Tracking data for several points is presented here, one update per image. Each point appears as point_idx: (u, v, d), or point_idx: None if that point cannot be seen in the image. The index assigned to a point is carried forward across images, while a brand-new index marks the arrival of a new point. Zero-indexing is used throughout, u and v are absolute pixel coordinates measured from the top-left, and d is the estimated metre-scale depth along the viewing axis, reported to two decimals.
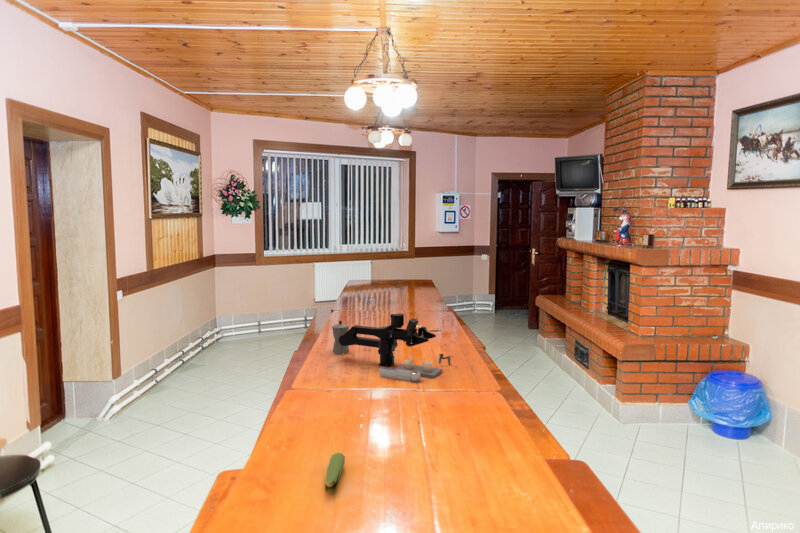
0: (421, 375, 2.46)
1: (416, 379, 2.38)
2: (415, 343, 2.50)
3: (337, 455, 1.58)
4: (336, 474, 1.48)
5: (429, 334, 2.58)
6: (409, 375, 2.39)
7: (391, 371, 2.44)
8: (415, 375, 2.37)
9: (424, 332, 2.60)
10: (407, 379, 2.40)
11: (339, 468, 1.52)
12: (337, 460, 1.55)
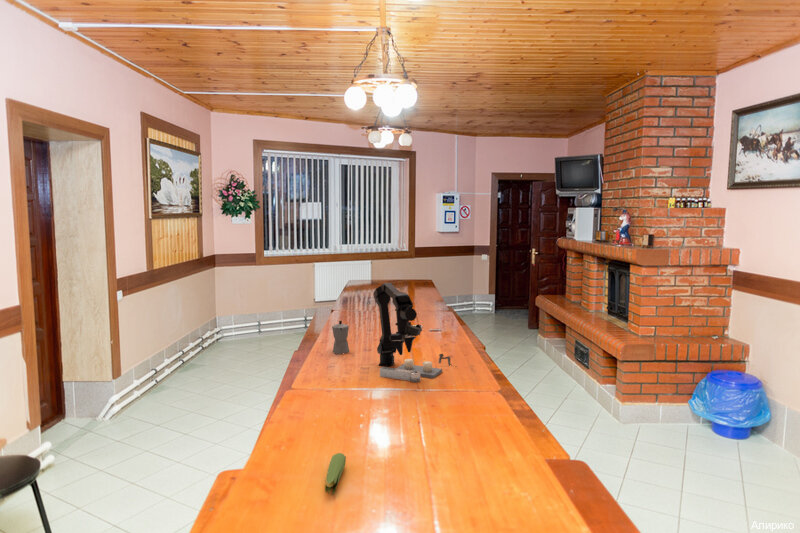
0: (421, 375, 2.46)
1: (416, 379, 2.38)
2: (394, 342, 2.38)
3: (338, 455, 1.57)
4: (336, 474, 1.48)
5: (409, 345, 2.47)
6: (409, 375, 2.39)
7: (391, 371, 2.44)
8: (415, 375, 2.37)
9: (410, 338, 2.47)
10: (407, 379, 2.40)
11: (339, 468, 1.52)
12: (338, 460, 1.55)
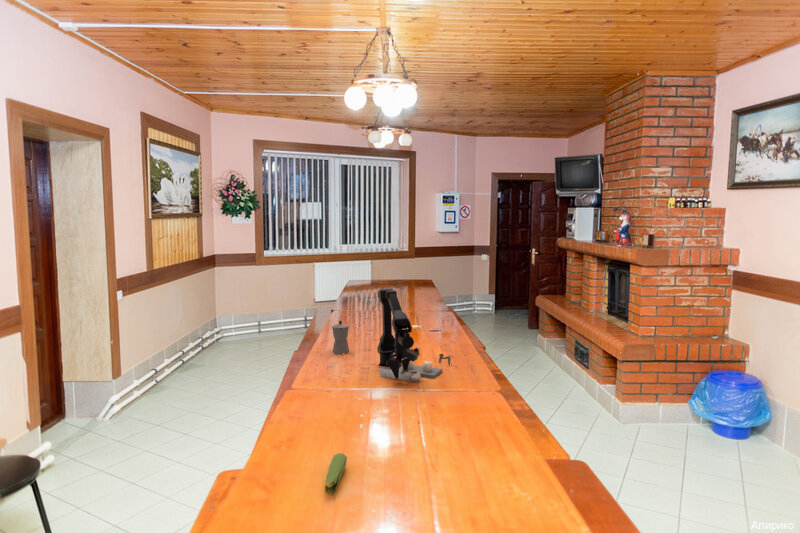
0: (421, 375, 2.46)
1: (416, 379, 2.38)
2: None
3: (339, 455, 1.57)
4: (336, 475, 1.48)
5: (406, 366, 2.47)
6: (409, 375, 2.39)
7: (391, 371, 2.44)
8: (415, 375, 2.37)
9: (407, 360, 2.47)
10: (407, 379, 2.40)
11: (340, 469, 1.51)
12: (338, 460, 1.55)
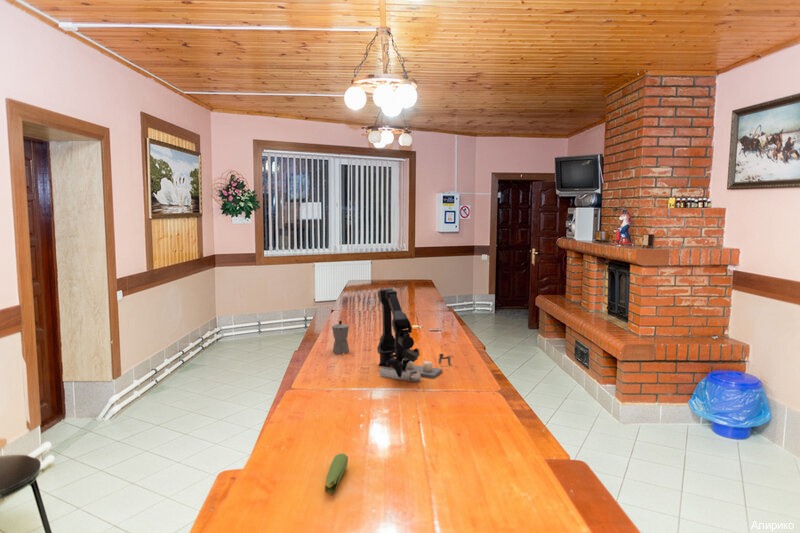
0: (421, 375, 2.46)
1: (416, 379, 2.38)
2: None
3: (340, 456, 1.57)
4: (336, 475, 1.48)
5: (403, 368, 2.44)
6: (409, 375, 2.39)
7: (391, 371, 2.44)
8: (415, 375, 2.37)
9: (405, 362, 2.44)
10: (407, 379, 2.40)
11: (340, 469, 1.51)
12: (339, 461, 1.54)
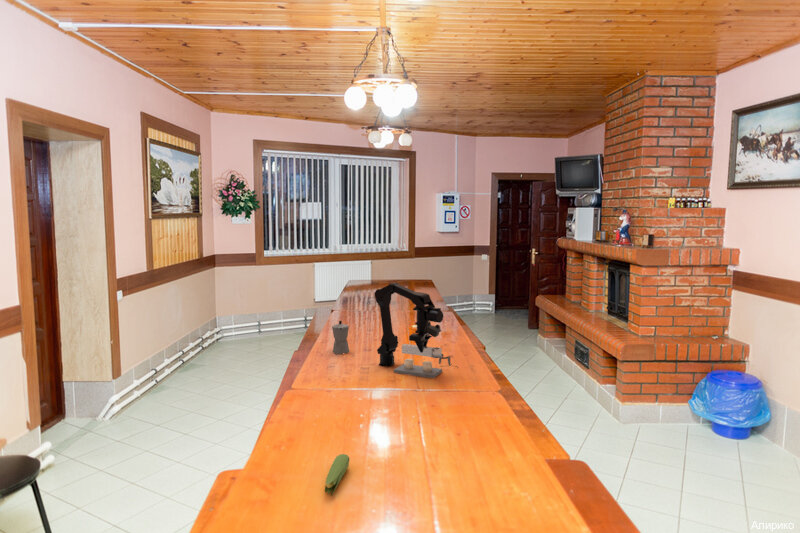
0: (421, 375, 2.46)
1: (438, 355, 2.45)
2: (416, 340, 2.47)
3: (341, 456, 1.57)
4: (336, 475, 1.47)
5: (424, 344, 2.51)
6: (431, 351, 2.46)
7: (412, 348, 2.51)
8: (437, 351, 2.44)
9: (426, 338, 2.51)
10: (429, 355, 2.47)
11: (341, 469, 1.51)
12: (340, 461, 1.54)
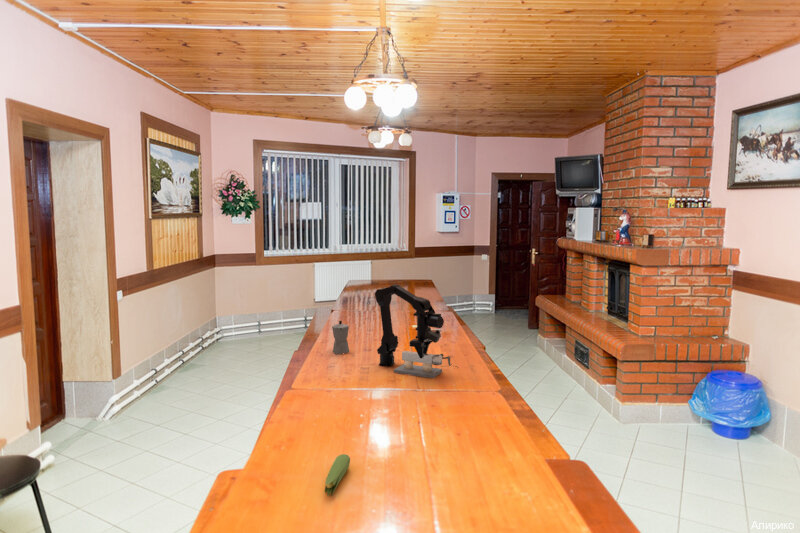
0: (421, 375, 2.46)
1: (438, 362, 2.45)
2: (415, 346, 2.47)
3: (342, 456, 1.57)
4: (336, 476, 1.47)
5: (425, 349, 2.52)
6: (431, 358, 2.47)
7: (413, 355, 2.51)
8: (437, 358, 2.45)
9: (427, 343, 2.52)
10: (429, 362, 2.48)
11: (341, 470, 1.51)
12: (341, 461, 1.54)
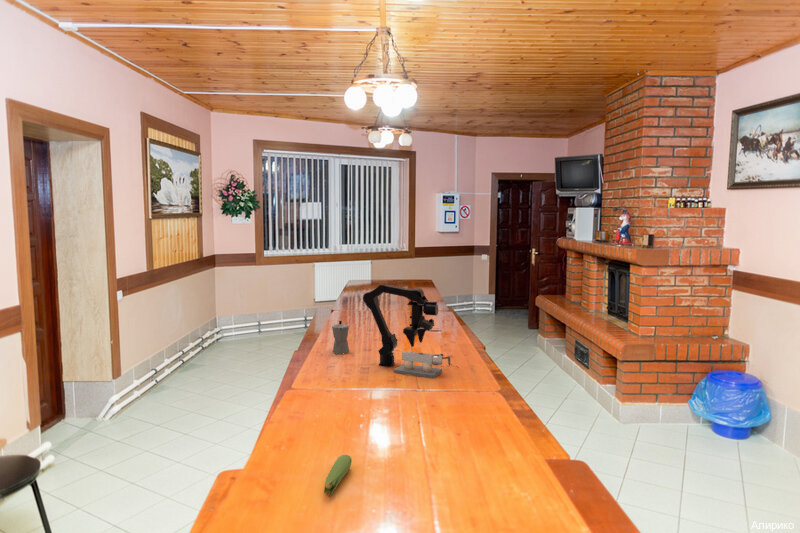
0: (421, 375, 2.46)
1: (438, 362, 2.45)
2: (407, 335, 2.54)
3: (343, 457, 1.56)
4: (336, 476, 1.47)
5: (421, 336, 2.63)
6: (431, 358, 2.47)
7: (413, 355, 2.51)
8: (437, 358, 2.45)
9: (423, 330, 2.63)
10: (429, 362, 2.48)
11: (341, 470, 1.50)
12: (341, 462, 1.54)
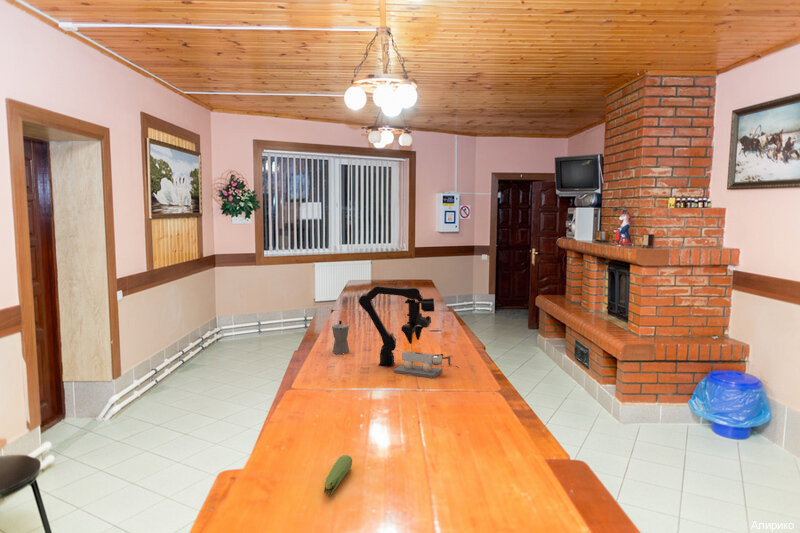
0: (421, 375, 2.46)
1: (438, 362, 2.45)
2: (405, 332, 2.59)
3: (344, 457, 1.56)
4: (336, 477, 1.47)
5: (418, 333, 2.68)
6: (431, 358, 2.47)
7: (413, 355, 2.51)
8: (437, 358, 2.45)
9: (420, 327, 2.68)
10: (429, 362, 2.48)
11: (341, 471, 1.50)
12: (342, 462, 1.53)
